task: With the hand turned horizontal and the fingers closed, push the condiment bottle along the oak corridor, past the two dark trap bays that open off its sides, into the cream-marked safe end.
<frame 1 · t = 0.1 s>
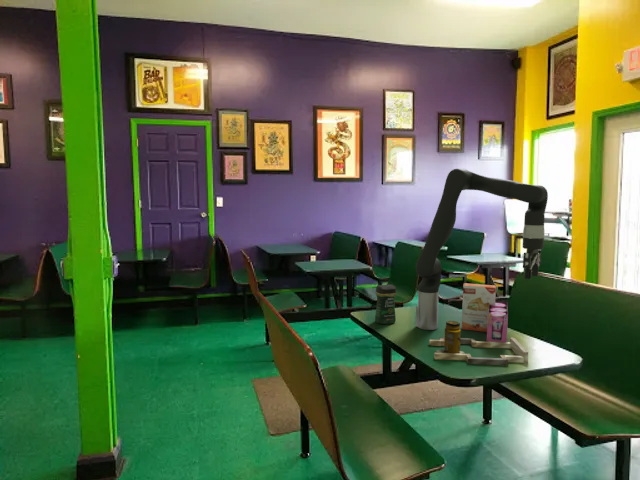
hand: (531, 277, 177), 29 cm above the table, tool pointing down, fingers open, 8 cm apart
condiment: (450, 352, 176), on the table
coffee jar: (385, 322, 218), on the table
gum box: (496, 338, 194), on the table, touching cracker box
cracker box: (477, 330, 206), on the table, touching gum box
lane: (471, 352, 176), on the table
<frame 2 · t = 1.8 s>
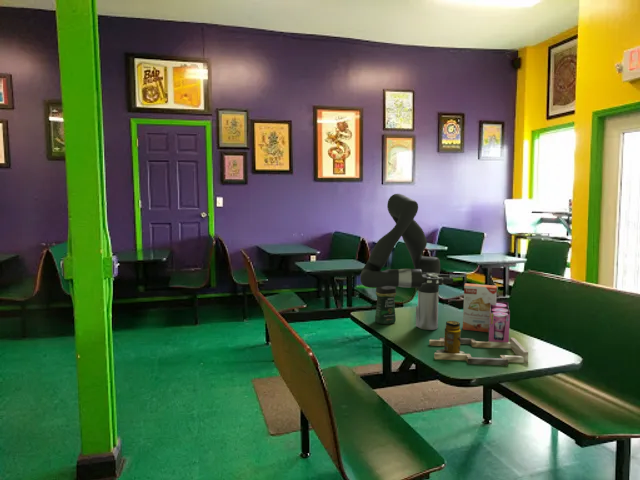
hand: (451, 278, 180), 28 cm above the table, tool horizontal, fingers open, 7 cm apart
gum box: (498, 338, 194), on the table, touching cracker box
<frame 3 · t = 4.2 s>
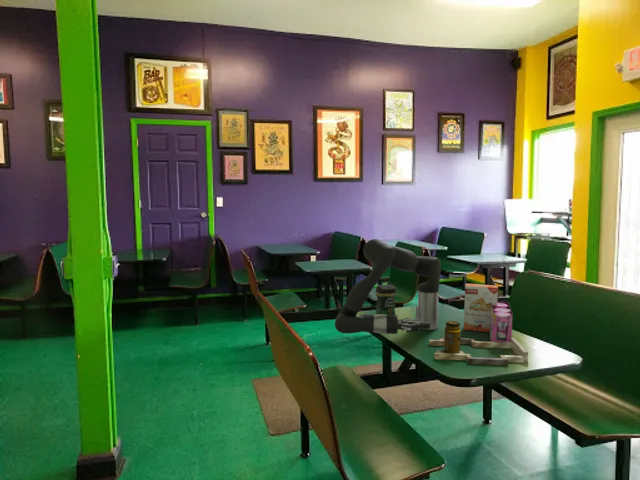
hand: (429, 325, 176), 10 cm above the table, tool horizontal, fingers closed
gum box: (499, 338, 194), on the table, touching cracker box, lane
cracker box: (479, 330, 205), on the table, touching gum box
everything else where it was.
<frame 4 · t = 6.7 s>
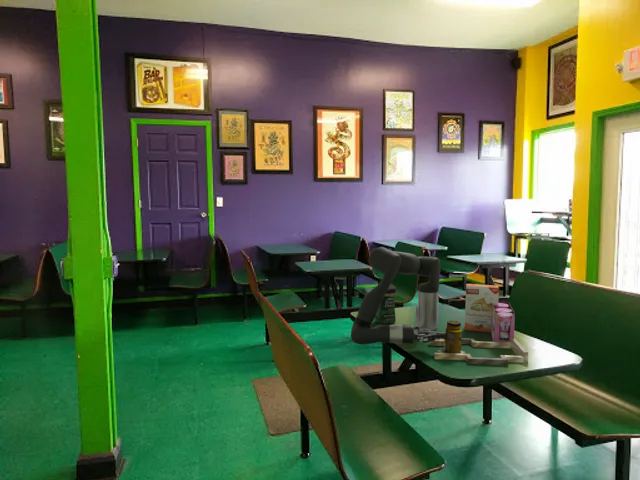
hand: (445, 335, 176), 7 cm above the table, tool horizontal, fingers closed
condiment: (451, 352, 176), on the table, touching gripper
gum box: (501, 338, 193), on the table, touching cracker box
cracker box: (480, 330, 205), on the table, touching gum box
everything else where it was.
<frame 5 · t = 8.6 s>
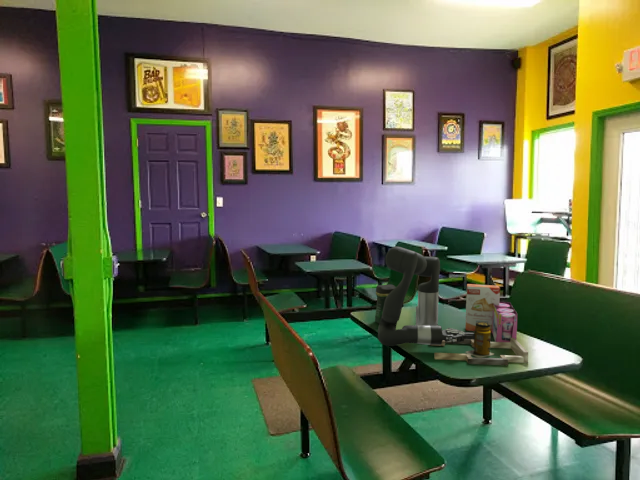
hand: (474, 336, 175), 7 cm above the table, tool horizontal, fingers closed
condiment: (479, 354, 175), on the table, touching gripper
gum box: (502, 338, 193), on the table, touching cracker box
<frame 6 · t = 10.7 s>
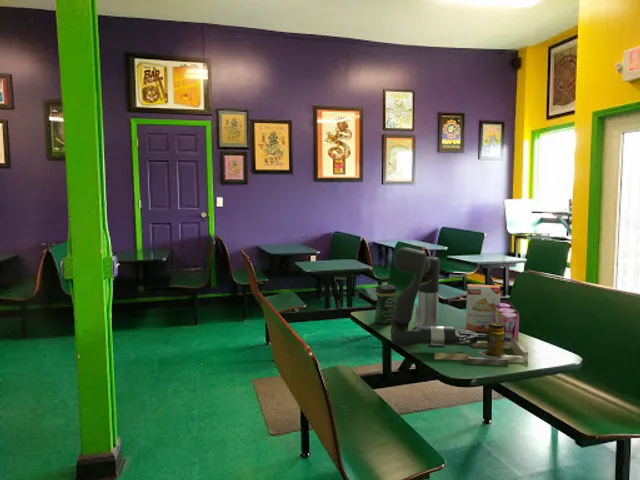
hand: (487, 337, 174), 7 cm above the table, tool horizontal, fingers closed
condiment: (493, 354, 174), on the table
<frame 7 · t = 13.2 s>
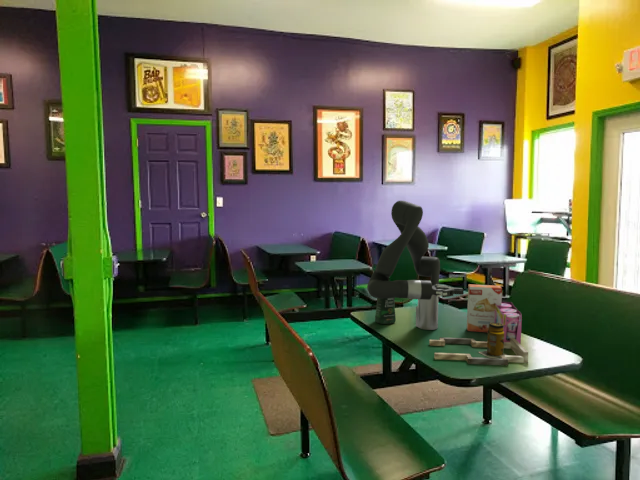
hand: (463, 291, 175), 24 cm above the table, tool horizontal, fingers closed
gum box: (505, 338, 193), on the table, touching cracker box
cracker box: (483, 331, 204), on the table, touching gum box
everything else where it was.
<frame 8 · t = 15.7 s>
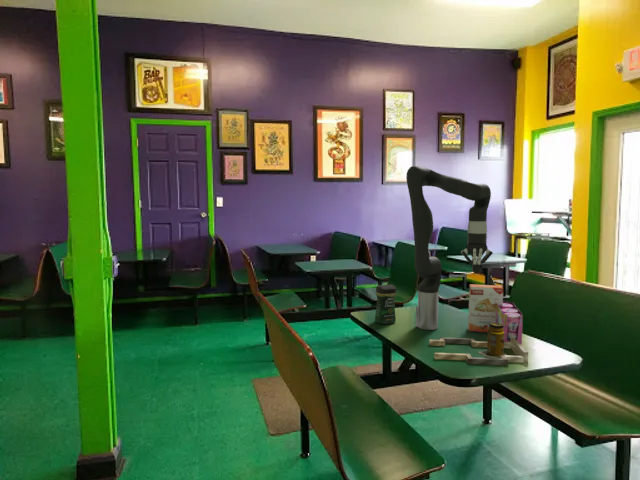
hand: (475, 273, 188), 29 cm above the table, tool pointing down, fingers closed
gum box: (506, 338, 193), on the table, touching cracker box, lane
at the end: condiment inside the target area (3.9 cm from its centre), on the table; condiment tilted 0°; condiment moved 16.2 cm from its start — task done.
